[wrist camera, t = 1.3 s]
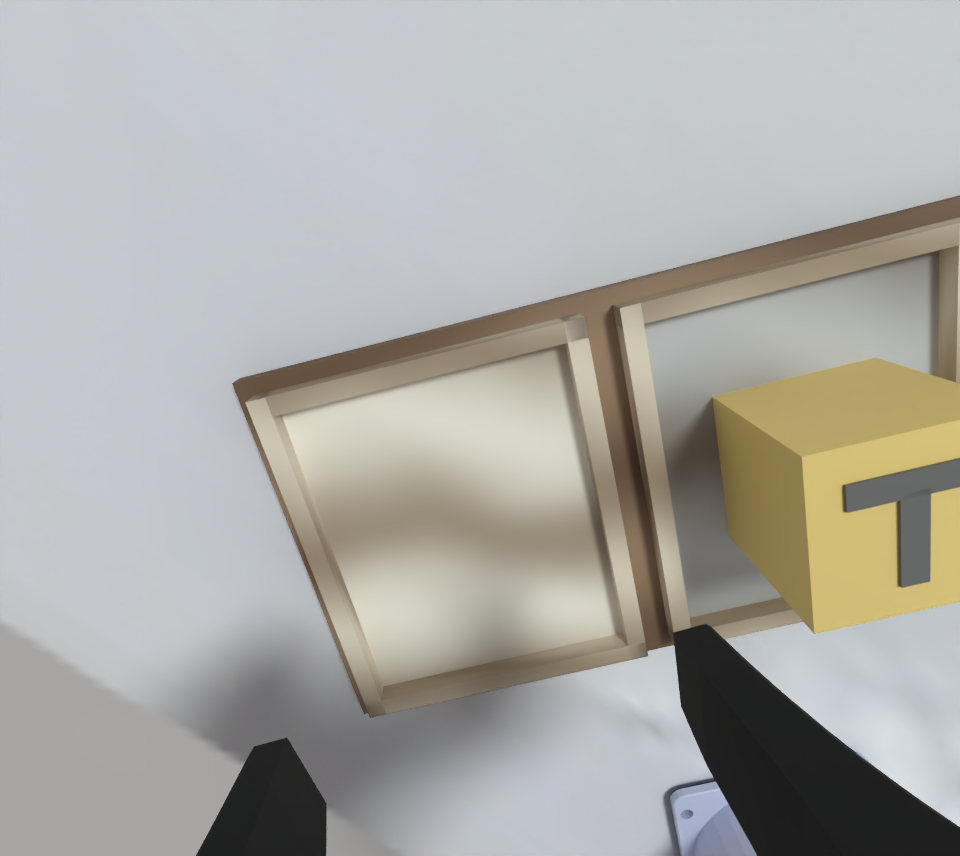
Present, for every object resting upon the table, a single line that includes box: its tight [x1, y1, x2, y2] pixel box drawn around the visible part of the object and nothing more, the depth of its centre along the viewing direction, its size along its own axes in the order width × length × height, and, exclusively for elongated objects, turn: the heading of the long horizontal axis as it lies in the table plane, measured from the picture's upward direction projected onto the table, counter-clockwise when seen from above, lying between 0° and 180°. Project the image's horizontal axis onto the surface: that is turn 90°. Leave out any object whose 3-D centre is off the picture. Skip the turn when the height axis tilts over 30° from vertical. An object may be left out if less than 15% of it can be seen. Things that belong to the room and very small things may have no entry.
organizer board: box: [232, 196, 960, 718], centre depth 19 cm, size 13×31×1 cm, turn 104°
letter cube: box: [712, 357, 960, 634], centre depth 16 cm, size 5×5×5 cm
